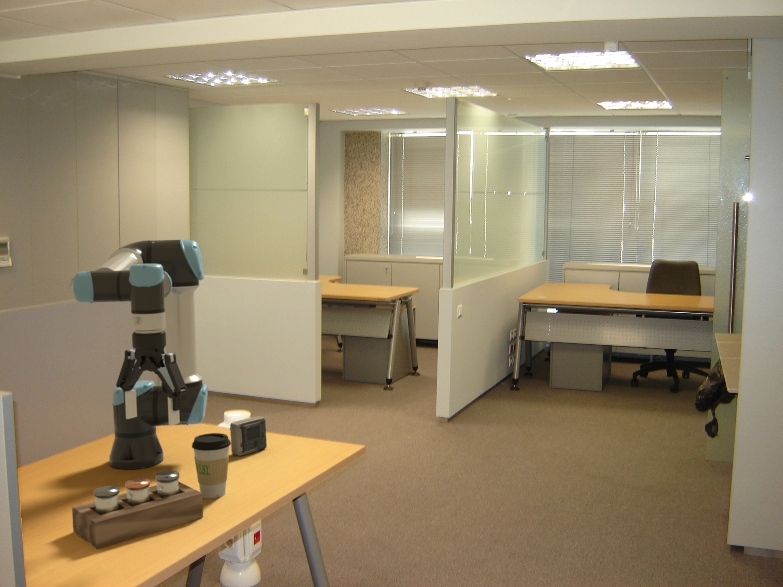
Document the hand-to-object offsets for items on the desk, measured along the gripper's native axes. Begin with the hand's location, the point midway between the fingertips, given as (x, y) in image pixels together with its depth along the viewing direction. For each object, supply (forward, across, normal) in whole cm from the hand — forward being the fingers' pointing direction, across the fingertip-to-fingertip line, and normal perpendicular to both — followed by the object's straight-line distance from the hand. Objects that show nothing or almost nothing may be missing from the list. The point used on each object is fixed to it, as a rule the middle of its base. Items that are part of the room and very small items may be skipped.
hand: (152, 421), depth 189 cm
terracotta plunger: (+21, -2, -3) cm, 21 cm away
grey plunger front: (+21, -5, -10) cm, 24 cm away
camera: (+24, -16, +54) cm, 61 cm away
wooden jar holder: (+24, -2, -3) cm, 25 cm away
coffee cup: (+24, -1, +21) cm, 32 cm away
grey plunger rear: (+21, 0, +4) cm, 21 cm away
